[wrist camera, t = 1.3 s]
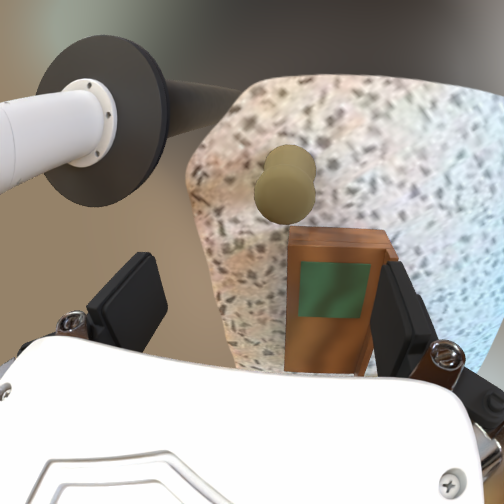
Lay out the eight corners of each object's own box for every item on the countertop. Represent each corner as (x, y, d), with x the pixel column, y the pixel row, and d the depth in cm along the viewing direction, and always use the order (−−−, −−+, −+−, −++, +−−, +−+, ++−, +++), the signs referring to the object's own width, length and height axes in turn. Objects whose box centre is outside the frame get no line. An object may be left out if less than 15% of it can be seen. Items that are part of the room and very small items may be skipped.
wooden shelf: (286, 348, 46) (282, 381, 40) (290, 225, 35) (286, 253, 29) (357, 350, 44) (360, 383, 38) (384, 229, 33) (398, 258, 27)
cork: (254, 158, 32) (232, 183, 23) (302, 135, 30) (301, 151, 20) (278, 202, 34) (266, 245, 25) (324, 183, 32) (333, 219, 23)
